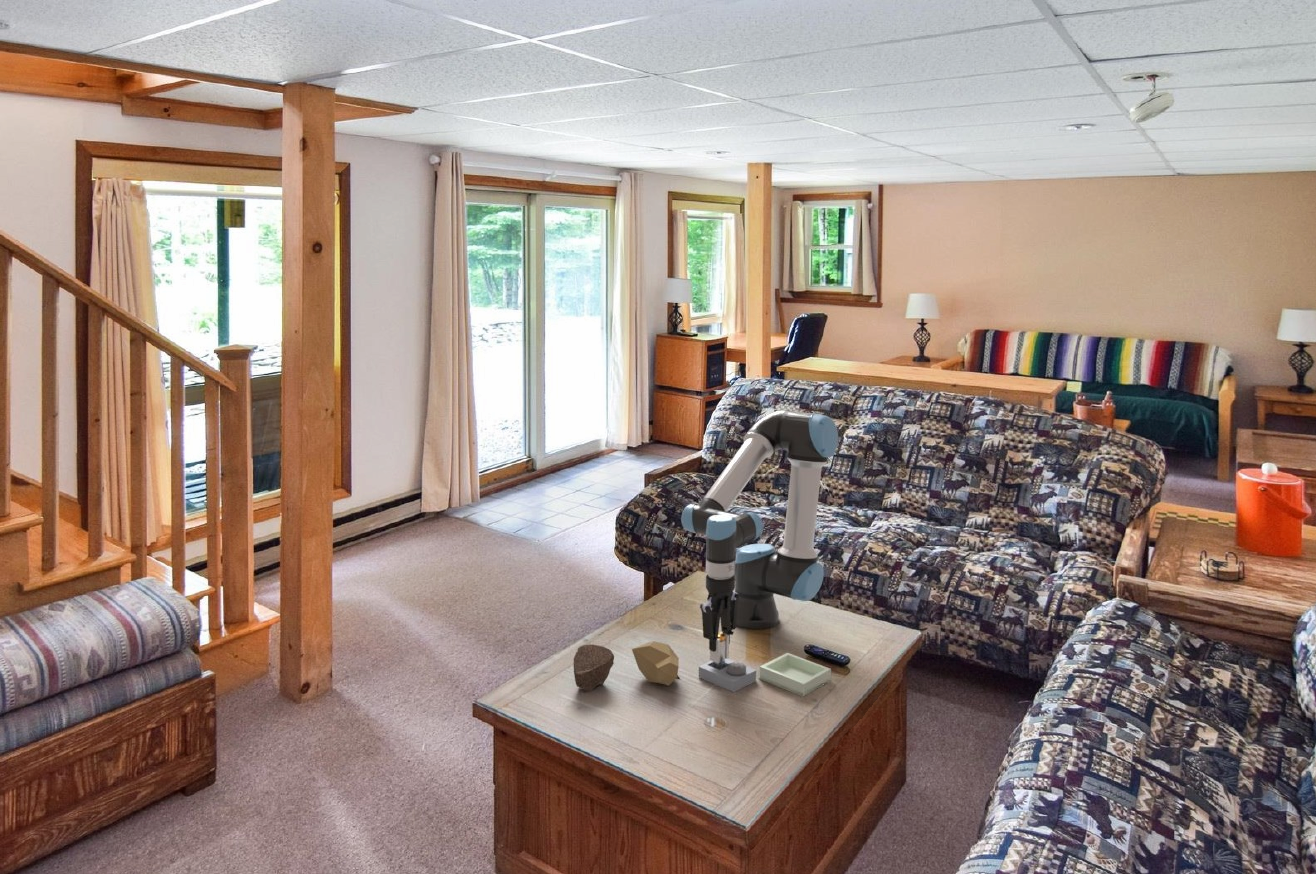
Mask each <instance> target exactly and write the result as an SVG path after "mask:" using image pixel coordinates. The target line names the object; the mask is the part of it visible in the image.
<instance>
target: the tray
mask: <svg viewBox="0 0 1316 874" xmlns="http://www.w3.org/2000/svg"><path fill="white" fill-rule="evenodd" d="M831 674H832V669H831V668H829V667H827V666H824V665H821V664H820V663H816V662H813V661H812V660H808V659H806V658H804V657H803V658H802V657H801V656H798V655H796V654H795V655H794V654H792V653H789V652H785V653H784V654H782V655H780V656H778V657H776V658H774V659H772V660H770V661H768V662H766V663H764V664H761V666H759V680H761V681H764V682H766V683H769V684H771V685H773V686H776V687H778V688H780V689H783V690H785V691H788V692H791V693H793V694H795V693H796V695H798V696H800V697H802V696H804V697H805V695H806V696H807V695H809V694H811V693H812V691H813V692H815V691H816V690H817V689H816V688H818V689H820V688H822V687H823V686H824V685H823V684H825V683H827V682H828V683H830V682H831V678H832V675H831ZM829 681H830V682H829ZM828 683H827V684H828ZM822 685H823V686H822ZM825 685H826V684H825ZM819 687H820V688H819ZM815 689H816V690H815ZM810 692H811V693H810ZM808 693H809V694H808Z"/></svg>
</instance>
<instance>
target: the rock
mask: <svg viewBox="0 0 1316 874" xmlns="http://www.w3.org/2000/svg"><path fill="white" fill-rule="evenodd" d="M614 660H615V655H614V653H613V652H612V650H611V649H609V648H608V647H606V646H603V645H598V644H583V645H581V646H579V647H577V650H576V652H575V654H574V656H573V675H574V681H575V685H576V687H577V688H580V689H581V690H583V691H584V692H591V691H593V690H594V688H597V686H601V685H604V684H605V681H606V680H607V679H608V677H609V674H610V672H611V668H612V667H613V666H614V664H615V662H614Z"/></svg>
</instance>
